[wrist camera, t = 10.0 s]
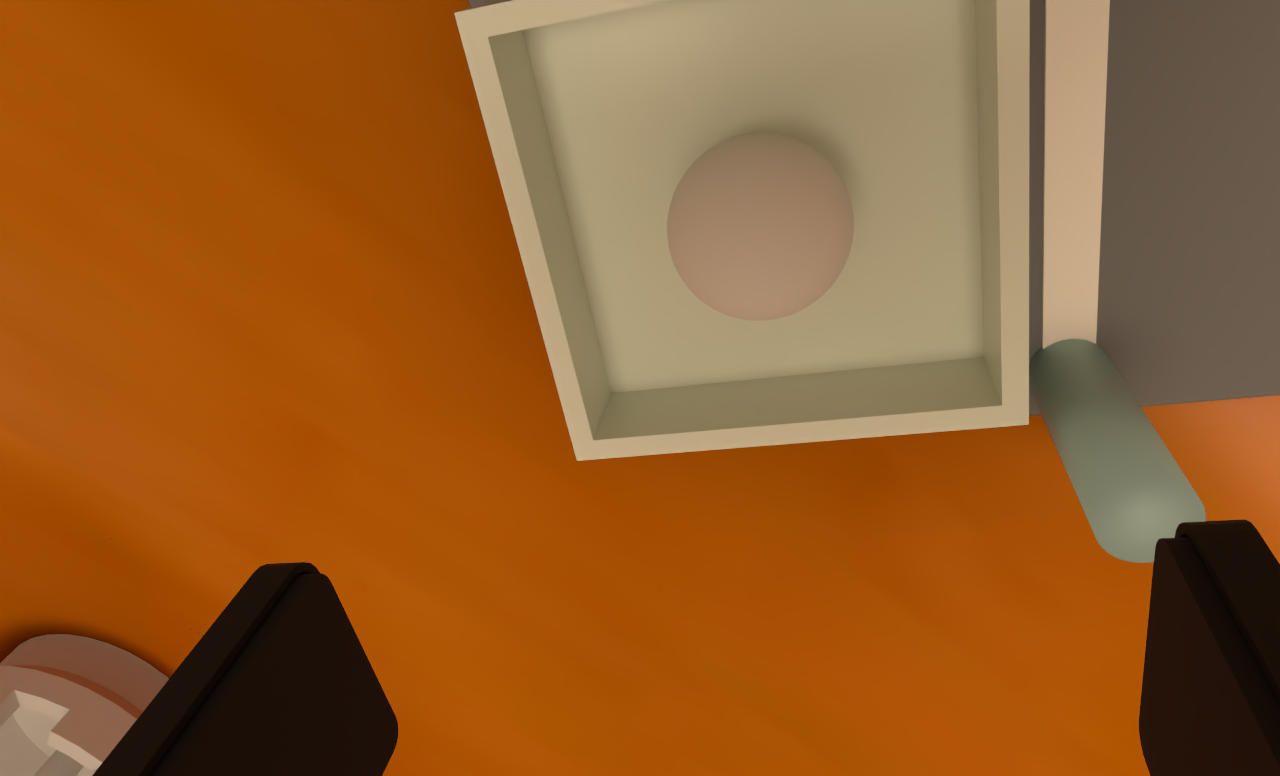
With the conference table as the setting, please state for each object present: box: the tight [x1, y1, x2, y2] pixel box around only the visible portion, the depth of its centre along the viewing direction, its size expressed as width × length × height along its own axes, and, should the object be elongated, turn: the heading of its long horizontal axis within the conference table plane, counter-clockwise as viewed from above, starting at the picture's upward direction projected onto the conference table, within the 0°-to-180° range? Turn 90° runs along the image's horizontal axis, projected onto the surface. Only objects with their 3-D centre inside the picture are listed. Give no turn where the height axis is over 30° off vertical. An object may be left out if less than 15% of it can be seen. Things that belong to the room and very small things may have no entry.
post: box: [1029, 339, 1206, 563], centre depth 24 cm, size 2×2×8 cm
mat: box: [468, 0, 1280, 416], centre depth 25 cm, size 17×27×1 cm, turn 101°
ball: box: [667, 132, 854, 321], centre depth 24 cm, size 5×5×5 cm
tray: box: [454, 0, 1030, 461], centre depth 25 cm, size 13×13×3 cm
